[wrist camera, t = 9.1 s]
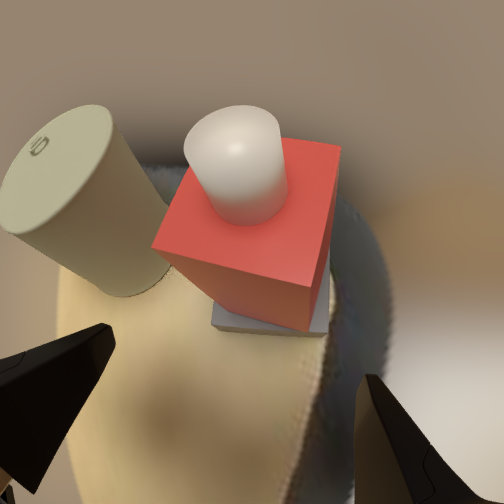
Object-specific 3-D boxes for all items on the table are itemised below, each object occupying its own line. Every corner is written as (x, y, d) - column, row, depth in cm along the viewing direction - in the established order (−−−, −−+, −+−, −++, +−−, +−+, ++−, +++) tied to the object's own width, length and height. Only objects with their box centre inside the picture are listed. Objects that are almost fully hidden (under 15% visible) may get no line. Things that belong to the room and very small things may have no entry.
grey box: (321, 338, 19) (328, 332, 16) (220, 331, 20) (210, 324, 17) (323, 257, 21) (329, 239, 19) (230, 252, 22) (223, 234, 19)
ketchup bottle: (308, 332, 16) (311, 248, 5) (227, 311, 17) (106, 207, 7) (328, 253, 18) (344, 87, 7) (252, 237, 19) (187, 81, 8)
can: (139, 182, 26) (77, 87, 15) (203, 235, 23) (140, 121, 12) (73, 252, 24) (-15, 183, 13) (124, 320, 21) (6, 266, 10)
